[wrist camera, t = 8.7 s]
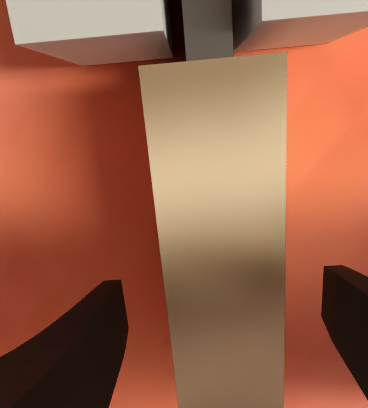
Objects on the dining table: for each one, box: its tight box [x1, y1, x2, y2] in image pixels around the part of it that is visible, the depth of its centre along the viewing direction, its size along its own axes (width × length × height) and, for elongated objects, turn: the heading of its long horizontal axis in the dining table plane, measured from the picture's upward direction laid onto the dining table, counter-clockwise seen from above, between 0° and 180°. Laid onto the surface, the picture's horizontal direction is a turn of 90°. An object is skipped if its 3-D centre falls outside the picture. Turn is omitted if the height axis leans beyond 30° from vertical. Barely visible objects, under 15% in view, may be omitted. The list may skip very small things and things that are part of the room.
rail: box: [138, 0, 287, 408], centre depth 11 cm, size 15×4×5 cm, turn 5°
